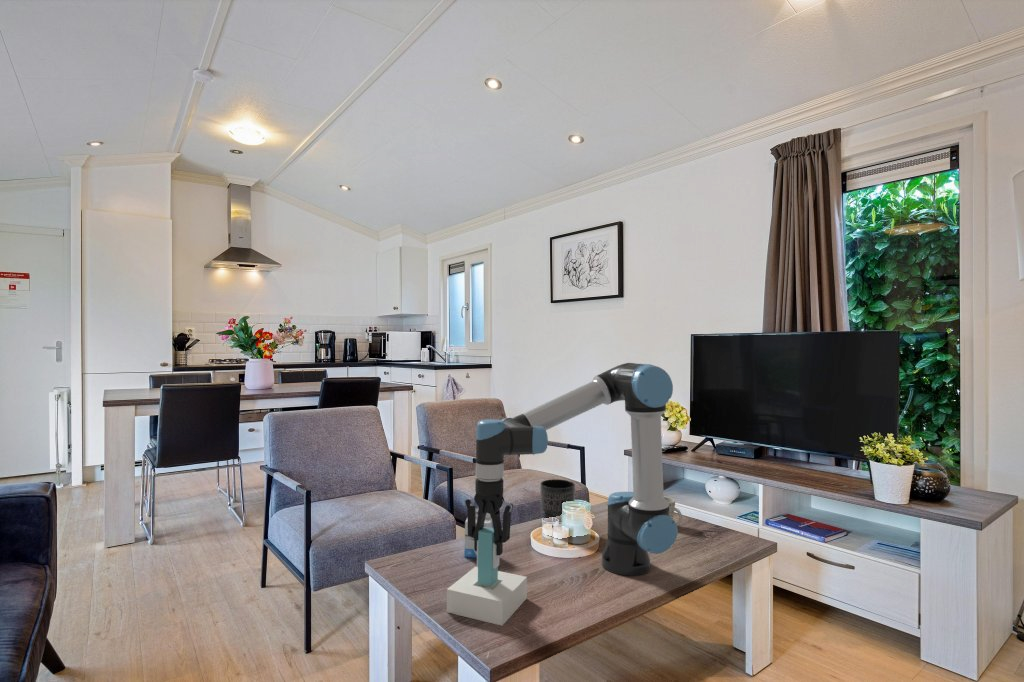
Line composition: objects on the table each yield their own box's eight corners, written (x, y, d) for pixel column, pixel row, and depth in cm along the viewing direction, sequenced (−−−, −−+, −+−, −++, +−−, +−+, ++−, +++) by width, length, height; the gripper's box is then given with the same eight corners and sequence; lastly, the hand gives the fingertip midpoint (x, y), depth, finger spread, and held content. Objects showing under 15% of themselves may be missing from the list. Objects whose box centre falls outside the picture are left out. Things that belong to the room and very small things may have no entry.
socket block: (526, 598, 153) (526, 576, 153) (502, 625, 139) (502, 601, 139) (475, 587, 160) (475, 566, 160) (446, 612, 145) (447, 589, 145)
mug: (661, 520, 220) (661, 495, 220) (688, 529, 211) (689, 503, 211) (648, 525, 215) (648, 499, 215) (676, 534, 205) (676, 507, 205)
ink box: (463, 557, 181) (464, 512, 181) (466, 551, 186) (467, 507, 186) (489, 559, 180) (490, 513, 180) (491, 553, 185) (492, 509, 185)
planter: (537, 525, 213) (538, 479, 213) (571, 525, 214) (571, 479, 213) (541, 537, 200) (542, 488, 200) (577, 537, 201) (578, 488, 201)
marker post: (497, 580, 150) (498, 528, 150) (491, 586, 147) (492, 533, 146) (484, 577, 152) (485, 526, 152) (477, 583, 148) (478, 531, 148)
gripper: (524, 478, 149) (522, 565, 149) (468, 471, 156) (466, 554, 156) (513, 485, 142) (511, 576, 142) (454, 477, 149) (453, 564, 149)
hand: (488, 564), depth 149 cm, fingers closed on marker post, 4 cm apart
